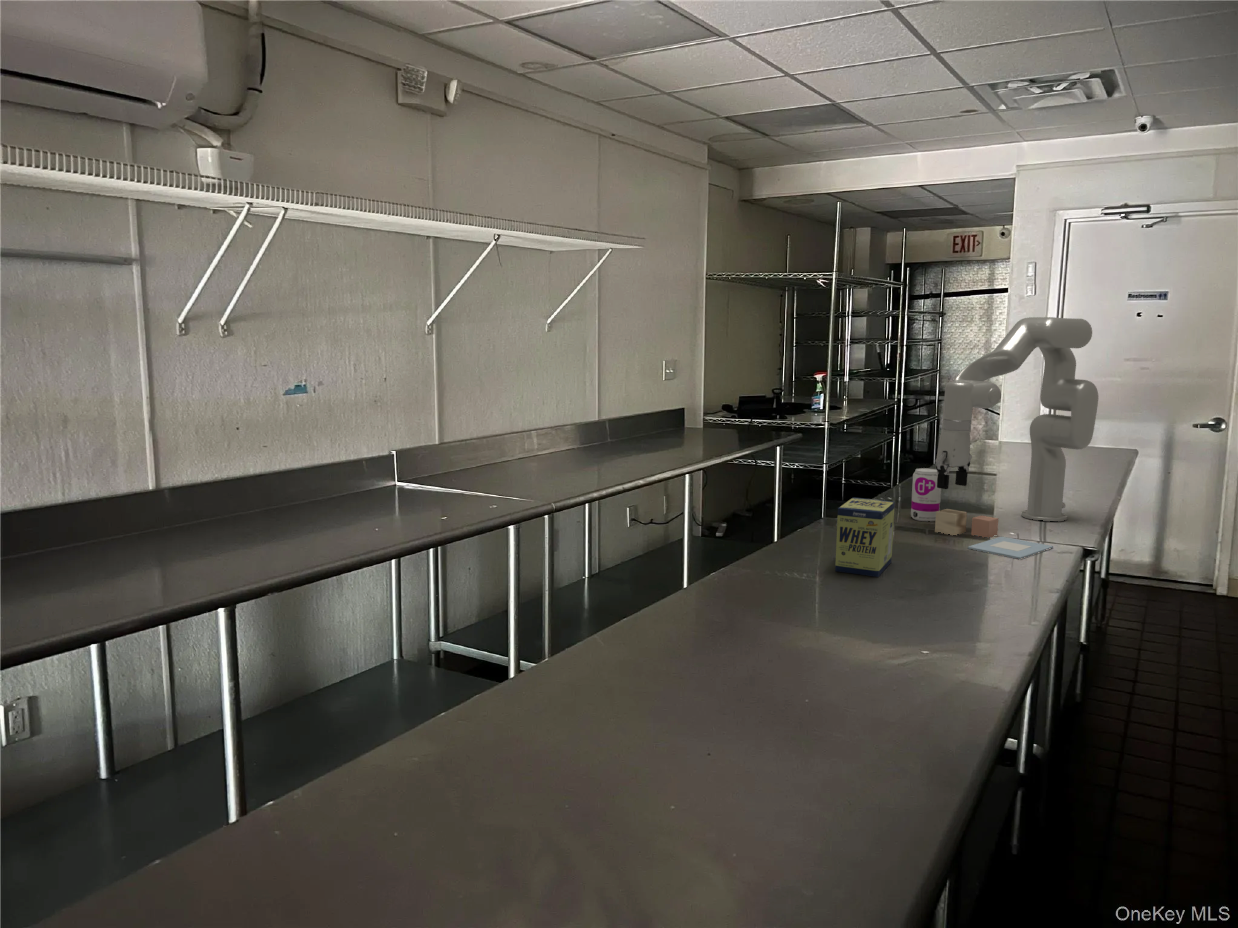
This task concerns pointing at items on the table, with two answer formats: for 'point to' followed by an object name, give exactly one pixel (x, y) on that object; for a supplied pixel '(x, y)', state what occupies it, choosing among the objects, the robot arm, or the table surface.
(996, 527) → the top block
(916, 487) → the supplement can
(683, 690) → the table surface
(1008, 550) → the board
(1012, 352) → the robot arm
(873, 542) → the protein box
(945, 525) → the base block
